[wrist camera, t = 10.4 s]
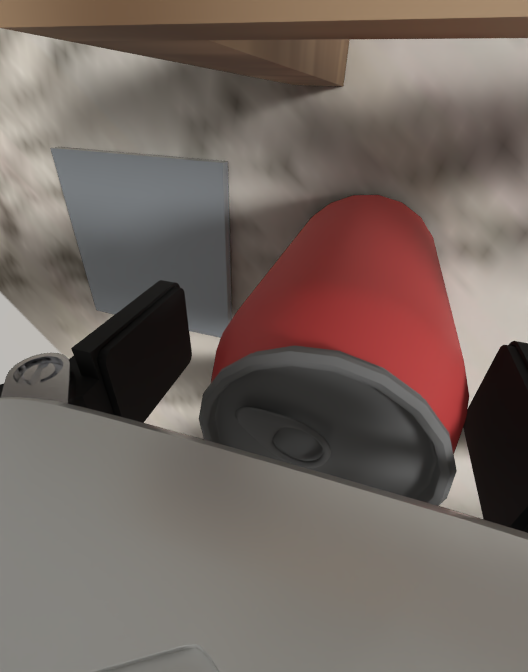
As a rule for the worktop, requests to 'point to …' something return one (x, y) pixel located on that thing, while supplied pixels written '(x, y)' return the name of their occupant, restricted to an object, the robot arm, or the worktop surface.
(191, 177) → the coaster
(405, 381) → the beer can
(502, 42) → the worktop surface
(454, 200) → the worktop surface
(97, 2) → the frame
